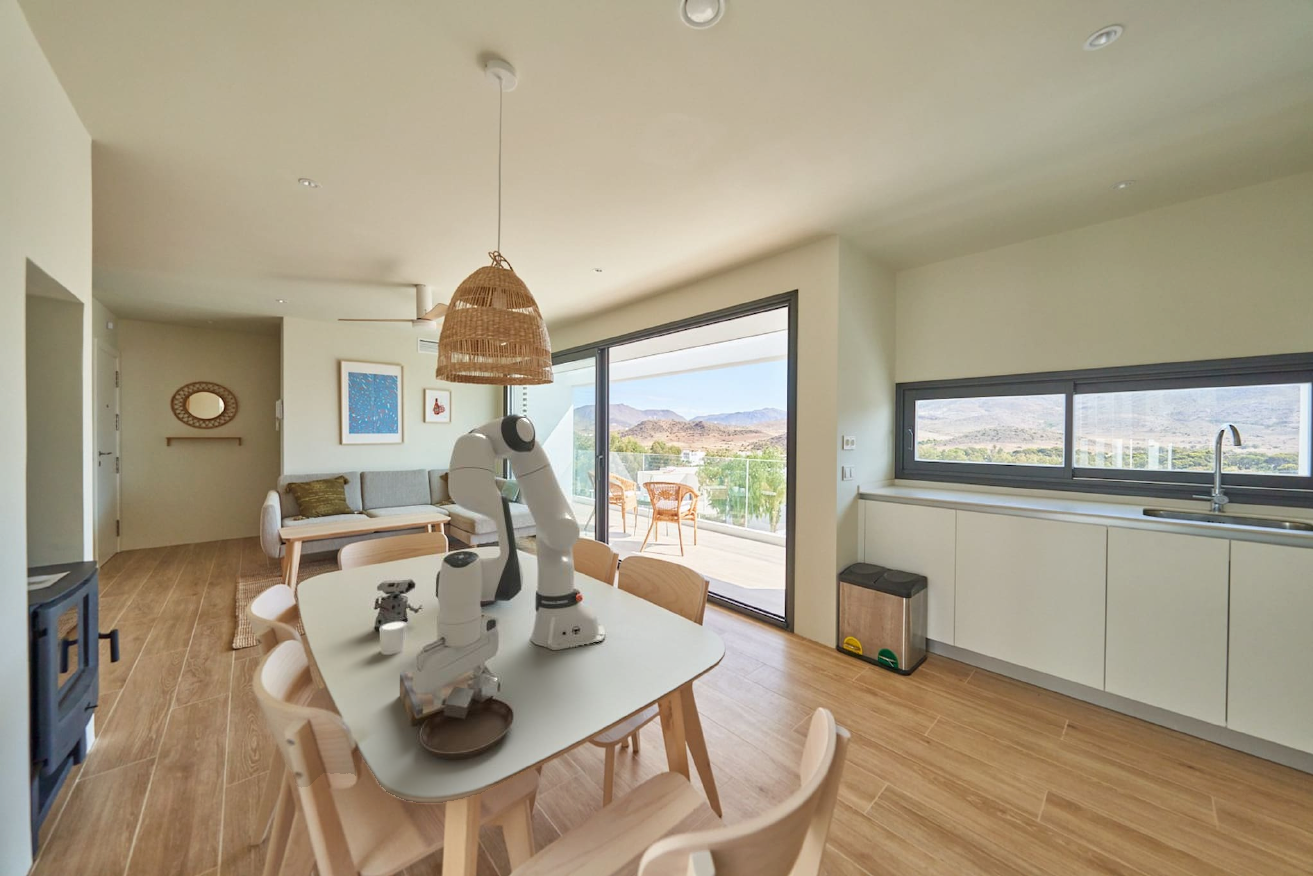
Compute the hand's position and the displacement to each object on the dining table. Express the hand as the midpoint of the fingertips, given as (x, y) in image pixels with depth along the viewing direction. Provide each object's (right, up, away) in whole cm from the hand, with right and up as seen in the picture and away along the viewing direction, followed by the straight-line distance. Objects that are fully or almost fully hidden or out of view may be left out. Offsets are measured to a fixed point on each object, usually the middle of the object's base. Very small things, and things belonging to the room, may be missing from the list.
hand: (458, 694), depth 98 cm
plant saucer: (+4, -6, -5) cm, 9 cm away
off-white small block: (+1, -2, -2) cm, 3 cm away
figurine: (-40, -5, +47) cm, 62 cm away
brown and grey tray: (-5, -5, +7) cm, 10 cm away
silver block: (+4, -1, +2) cm, 5 cm away
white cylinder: (-32, -5, +32) cm, 46 cm away
